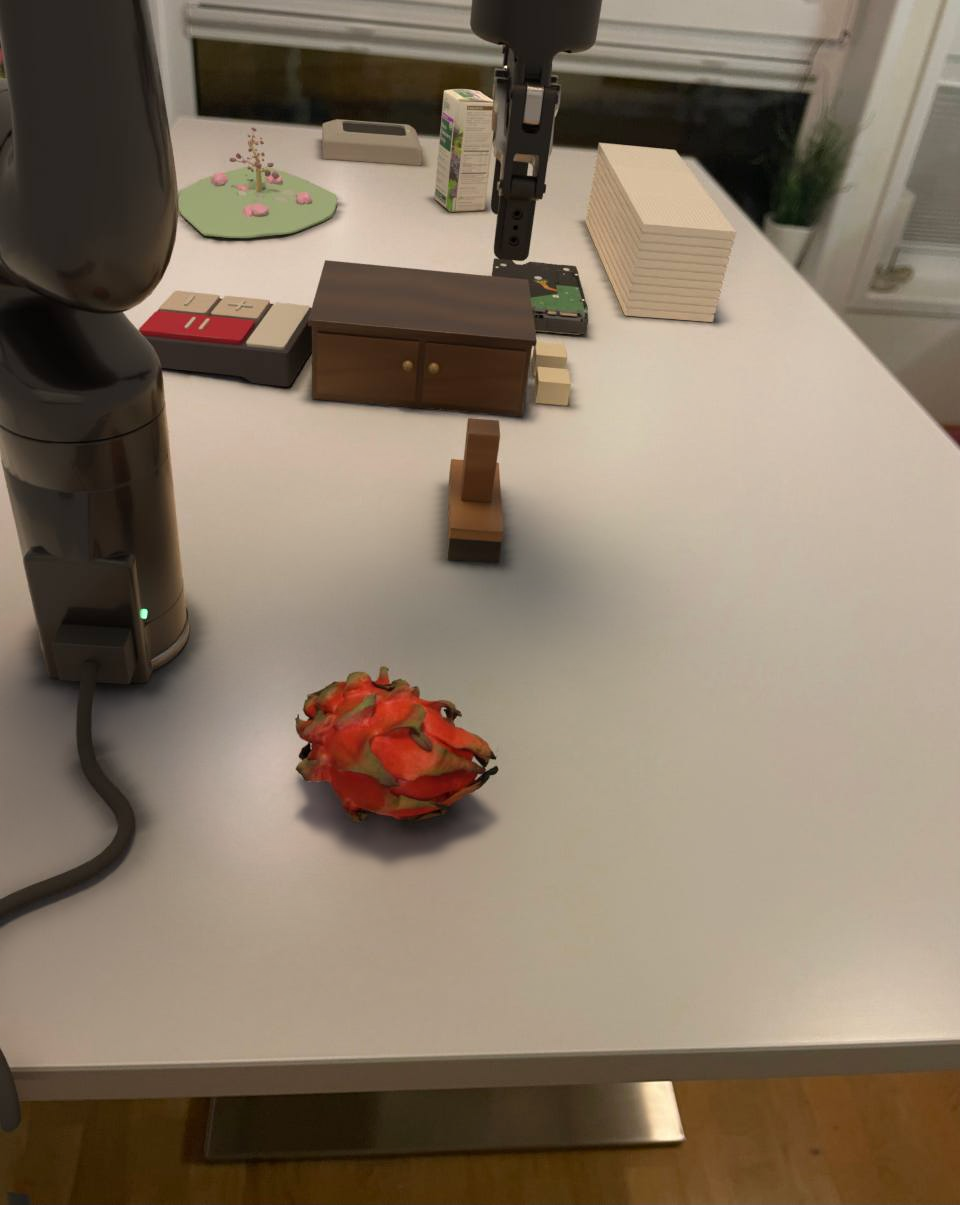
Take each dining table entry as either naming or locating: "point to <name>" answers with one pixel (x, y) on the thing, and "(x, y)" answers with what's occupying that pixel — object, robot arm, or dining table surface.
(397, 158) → the beige low box
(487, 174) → the syrup box
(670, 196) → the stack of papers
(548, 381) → the wooden block
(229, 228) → the plant
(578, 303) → the disk drive
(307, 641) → the dining table surface
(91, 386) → the robot arm
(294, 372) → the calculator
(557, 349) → the wooden block
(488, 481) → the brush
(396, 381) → the cabinet
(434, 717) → the dragon fruit
